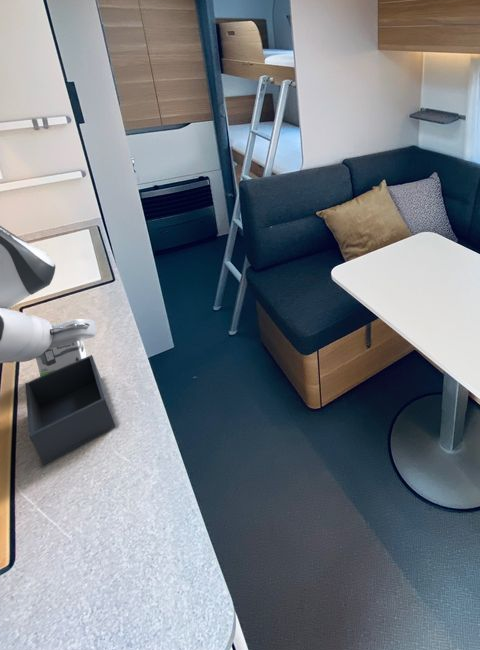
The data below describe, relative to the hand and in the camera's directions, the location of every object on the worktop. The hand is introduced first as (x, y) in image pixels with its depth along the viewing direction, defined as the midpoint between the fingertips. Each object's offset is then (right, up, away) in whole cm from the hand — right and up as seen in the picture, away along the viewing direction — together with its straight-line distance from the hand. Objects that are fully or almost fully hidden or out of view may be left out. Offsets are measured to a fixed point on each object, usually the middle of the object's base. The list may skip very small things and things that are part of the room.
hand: (54, 343), depth 95 cm
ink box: (-1, -9, +5) cm, 10 cm away
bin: (+10, -14, -7) cm, 18 cm away
